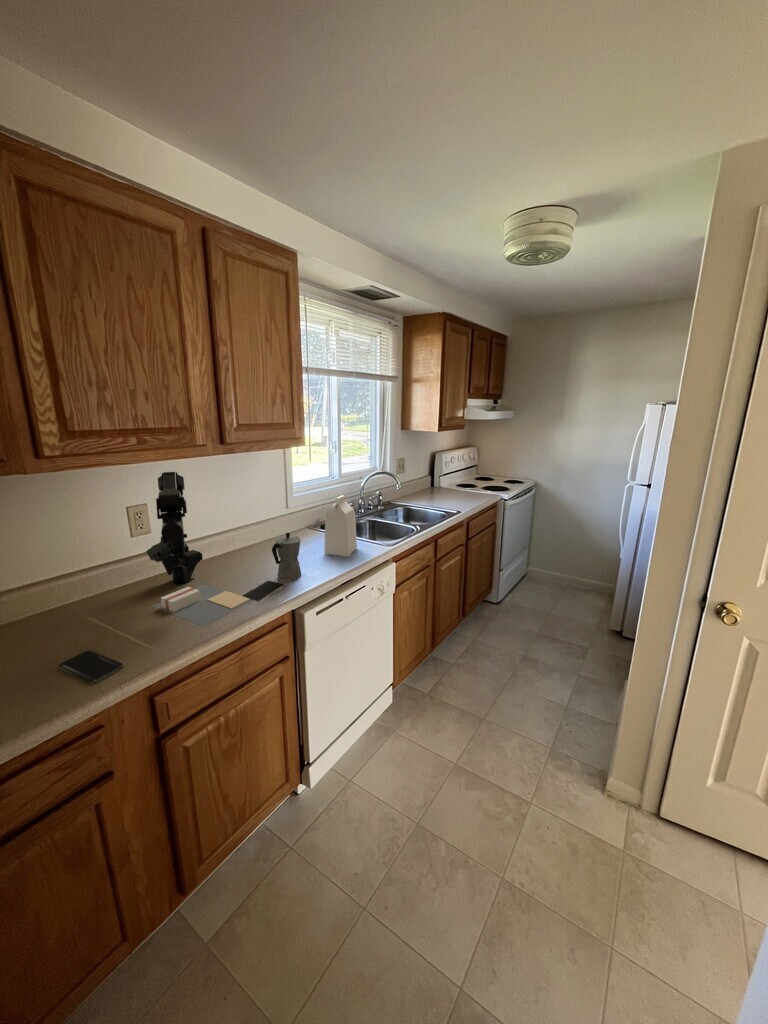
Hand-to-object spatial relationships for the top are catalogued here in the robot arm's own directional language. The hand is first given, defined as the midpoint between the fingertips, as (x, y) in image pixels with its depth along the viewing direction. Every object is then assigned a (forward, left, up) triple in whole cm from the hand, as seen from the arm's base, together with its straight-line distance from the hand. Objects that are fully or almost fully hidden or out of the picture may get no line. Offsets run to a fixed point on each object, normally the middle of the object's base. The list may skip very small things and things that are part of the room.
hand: (178, 577), depth 135 cm
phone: (+11, -33, -10) cm, 36 cm away
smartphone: (+16, +21, -11) cm, 28 cm away
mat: (+6, +4, -10) cm, 12 cm away
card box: (0, 0, -9) cm, 9 cm away
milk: (+14, +72, -10) cm, 74 cm away
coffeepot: (+14, +36, -10) cm, 40 cm away
